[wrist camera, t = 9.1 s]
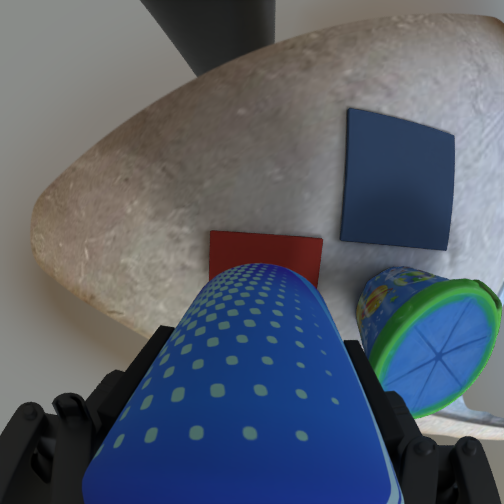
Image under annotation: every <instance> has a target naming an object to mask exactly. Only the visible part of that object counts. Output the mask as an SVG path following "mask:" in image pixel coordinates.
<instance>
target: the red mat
mask: <svg viewBox="0 0 504 504" xmlns="http://www.w3.org/2000/svg"><path fill="white" fill-rule="evenodd" d="M322 245H323V239H322V238H313V237H300V236H287V235H274V234H260V233H245V232H230V231H215V230H212V231H210V259H209V281H210V280H212V279H213V278H214V277H216V276H217V275H219V274H220V273H222V272H224V271H226V270H228V269H231V268H234V267H237V266H240V265H246V264H254V263H263V264H272V265H277V266H281V267H284V268H287V269H290V270H292V271H294V272H296V273H298V274H299V275H301V276H303V277H304V278H305V279H307V280H308V281H309V282H310V283H311V284H312V285H313V286H314V287H315V288H316V289H317V285H318V278H319V270H320V262H321V254H322Z"/></svg>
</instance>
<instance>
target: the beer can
mask: <svg viewBox="0 0 504 504" xmlns="http://www.w3.org/2000/svg"><path fill="white" fill-rule="evenodd" d="M82 493H83V499H84V504H404V499H403V495H402V492H401V489H400V486H399V483H398V480H397V477H396V474H395V471H394V468H393V466H392V463H391V460H390V457H389V454H388V452H387V449H386V446H385V443H384V441H383V438H382V435H381V433H380V430H379V428H378V425H377V422H376V420H375V417H374V415H373V412H372V410H371V407H370V405H369V402H368V400H367V397H366V395H365V392H364V390H363V388H362V385H361V383H360V380H359V378H358V376H357V373H356V371H355V368H354V366H353V364H352V361H351V359H350V357H349V354H348V352H347V350H346V348H345V345H344V343H343V341H342V339H341V336H340V334H339V332H338V330H337V327H336V325H335V323H334V321H333V319H332V316H331V314H330V312H329V310H328V308H327V305H326V303H325V301H324V299H323V297H322V296H321V294H320V293H319V291H318V290H317V289H316V288H315V287H314V286H313V285H312V284H311V283H310V282H309V281H308V280H307V279H305V278H304V277H303V276H301V275H299V274H298V273H296V272H294V271H292V270H290V269H287V268H284V267H281V266H277V265H272V264H263V263H254V264H246V265H240V266H237V267H234V268H231V269H228V270H226V271H224V272H222V273H220V274H219V275H217V276H216V277H214V278H213V279H212V280H210V281H209V282H208V283H207V284H206V285H205V286H204V287H203V288H202V290H201V291H200V292H199V294H198V295H197V297H196V298H195V300H194V301H193V303H192V304H191V306H190V307H189V309H188V310H187V312H186V313H185V315H184V316H183V318H182V319H181V321H180V322H179V324H178V325H177V327H176V328H175V330H174V331H173V333H172V334H171V336H170V337H169V339H168V340H167V342H166V344H165V345H164V347H163V348H162V350H161V351H160V353H159V354H158V356H157V357H156V359H155V360H154V362H153V363H152V365H151V367H150V368H149V370H148V371H147V373H146V374H145V376H144V377H143V379H142V381H141V382H140V384H139V385H138V387H137V388H136V390H135V392H134V393H133V395H132V396H131V398H130V399H129V401H128V403H127V404H126V406H125V407H124V409H123V411H122V412H121V414H120V415H119V417H118V419H117V420H116V422H115V423H114V425H113V427H112V428H111V430H110V431H109V433H108V435H107V436H106V438H105V440H104V441H103V443H102V445H101V446H100V448H99V449H98V451H97V453H96V454H95V456H94V458H93V459H92V461H91V463H90V464H89V466H88V468H87V469H86V472H85V474H84V477H83V479H82Z"/></svg>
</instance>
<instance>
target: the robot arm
mask: <svg viewBox="0 0 504 504" xmlns="http://www.w3.org/2000/svg"><path fill="white" fill-rule="evenodd" d="M174 330H175V329H174V327H169V326H162V325H160V327H159V328H158V329H157V330H156V332H155V333H154V334H153V336H152V337H151V338H150V339H149V341H148V342H147V344H146V345H145V346H144V347H143V349H142V350H141V352H140V353H139V354H138V355H137V357H136V358H135V359H134V361H133V362H132V363H131V364H130V366H129V367H128V369H127V370H126V371H125V372H123V371H120V370H114V371H112V372H111V373H109V374H107V375H106V376H105V377H104V379H103V380H102V381H101V383H100V384H99V385H98V386H97V387H96V389H95V390H94V391H93V392H92V393H91V395H90V396H89V397H88V398H87V400H86V401H84V399H83V398H82V397H81V396H80V395H78V394H75V393H64V394H61V395H59V396H57V397H56V398H55V399H54V401H53V402H52V405H53V407H54V409H55V411H56V413H57V415H53V414H48V413H45V412H44V410H43V408H42V407H41V406H40V405H39V404H37V403H35V402H27V403H24V404H22V405H21V406H19V408H18V409H17V410H16V412H15V413H14V415H13V416H12V418H11V419H10V421H9V422H8V424H7V426H6V427H5V429H4V430H3V432H2V434H1V435H0V504H84V499H83V493H82V479H83V477H84V474H85V472H86V469H87V468H88V466H89V464H90V463H91V461H92V459H93V458H94V456H95V454H96V453H97V451H98V449H99V448H100V446H101V445H102V443H103V441H104V440H105V438H106V436H107V435H108V433H109V431H110V430H111V428H112V427H113V425H114V423H115V422H116V420H117V419H118V417H119V415H120V414H121V412H122V411H123V409H124V407H125V406H126V404H127V403H128V401H129V399H130V398H131V396H132V395H133V393H134V392H135V390H136V388H137V387H138V385H139V384H140V382H141V381H142V379H143V377H144V376H145V374H146V373H147V371H148V370H149V368H150V367H151V365H152V363H153V362H154V360H155V359H156V357H157V356H158V354H159V353H160V351H161V350H162V348H163V347H164V345H165V344H166V342H167V340H168V339H169V337H170V336H171V334H172V333H173V331H174ZM343 343H344V345H345V348H346V350H347V352H348V354H349V357H350V359H351V361H352V364H353V366H354V368H355V371H356V373H357V376H358V378H359V380H360V383H361V385H362V388H363V390H364V392H365V395H366V397H367V400H368V402H369V405H370V407H371V410H372V412H373V415H374V417H375V420H376V422H377V425H378V428H379V430H380V433H381V435H382V438H383V441H384V443H385V446H386V449H387V452H388V454H389V457H390V460H391V463H392V466H393V468H394V471H395V474H396V477H397V480H398V483H399V486H400V489H401V492H402V495H403V499H404V504H501V501H500V497H499V494H498V490H497V487H496V484H495V480H494V477H493V474H492V471H491V468H490V465H489V463H488V460H487V457H486V455H485V452H484V450H483V447H482V445H481V443H480V441H479V440H477V439H476V438H474V437H471V436H465V437H462V438H460V439H459V440H458V441H457V443H456V444H455V445H449V446H448V445H447V446H445V445H437V443H436V442H435V441H434V440H432V439H431V438H429V437H425V436H423V435H422V434H421V432H420V430H419V428H418V426H417V424H416V422H415V420H414V418H413V416H412V414H411V413H410V411H409V409H408V407H406V403H405V401H404V400H403V398H402V397H401V396H400V395H399V394H398V393H397V392H396V391H385V392H384V390H383V388H382V386H381V384H380V382H379V380H378V378H377V376H376V374H375V372H374V370H373V368H372V366H371V364H370V362H369V360H368V358H367V356H366V355H365V353H364V351H363V349H362V347H361V345H360V343H359V341H358V340H344V342H343Z"/></svg>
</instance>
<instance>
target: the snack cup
mask: <svg viewBox="0 0 504 504" xmlns="http://www.w3.org/2000/svg"><path fill="white" fill-rule="evenodd" d="M501 314H502V303H501V301H500V299H499V298H498V297H497V295H496V294H495V293H494V292H493V291H492V290H491V289H490V288H489V287H488V286H487V285H486V284H484V283H483V282H481V281H480V280H469V279H453V280H449V279H447V278H443V277H440V276H437V275H433V274H430V273H427V272H424V271H421V270H417V269H414V268H410V267H404V266H402V267H392V268H389V269H387V270H385V271H383V272H381V273H380V274H379V275H377V276H375V277H373V278H372V279H371V280H369V281H368V282H367V284H366V287H365V289H364V291H363V292H362V294H361V296H360V300H359V302H358V305H357V312H356V318H357V325H358V328H359V332H360V336H361V340H362V345H363V348H364V352H365V355H366V356H367V358H368V360H369V362H370V364H371V366H372V368H373V370H374V372H375V374H376V376H377V378H378V380H379V382H380V384H381V386H382V388H383V390H384V392H385V391H396V392H397V393H398V394H399V395H400V396H401V397H402V398H403V400H404V401H405V403H406V407H408V409H409V411H410V413H411V414H412V416H413V418H414V419H417V418H421V417H425V416H428V415H430V414H433V413H435V412H437V411H439V410H441V409H443V408H445V407H446V406H448V405H449V404H451V403H452V402H453V401H455V400H456V399H457V398H459V397H460V396H461V395H462V394H463V393H464V392H465V391H466V390H467V389H468V388H469V387H470V386H471V385H472V384H473V383H474V382H475V380H476V379H477V378H478V376H479V375H480V374H481V372H482V370H483V369H484V368H485V366H486V364H487V362H488V360H489V358H490V356H491V353H492V351H493V348H494V345H495V342H496V338H497V335H498V332H499V328H500V322H501Z"/></svg>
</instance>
